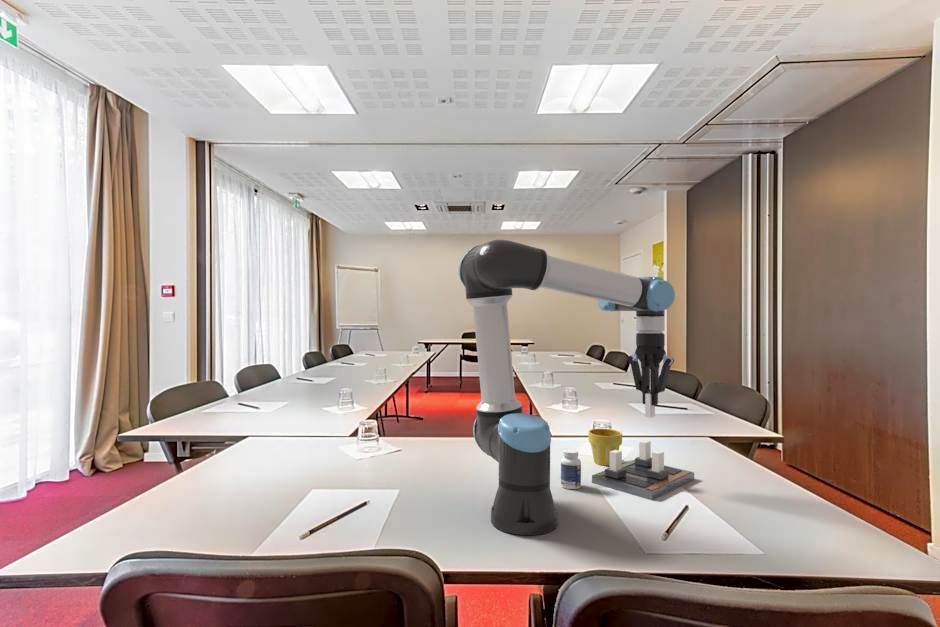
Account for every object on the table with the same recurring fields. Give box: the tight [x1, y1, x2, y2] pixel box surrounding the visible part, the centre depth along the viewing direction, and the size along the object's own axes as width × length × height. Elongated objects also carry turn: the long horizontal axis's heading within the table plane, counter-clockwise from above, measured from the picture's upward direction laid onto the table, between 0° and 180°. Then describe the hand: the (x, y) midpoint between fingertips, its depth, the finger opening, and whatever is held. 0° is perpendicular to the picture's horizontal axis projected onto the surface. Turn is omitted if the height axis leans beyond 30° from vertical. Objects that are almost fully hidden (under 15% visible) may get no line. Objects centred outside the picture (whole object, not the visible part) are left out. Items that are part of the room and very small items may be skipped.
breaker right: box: [634, 440, 652, 467], centre depth 152 cm, size 4×4×7 cm
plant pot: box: [588, 427, 623, 467], centre depth 161 cm, size 10×10×10 cm
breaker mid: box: [647, 450, 669, 480], centre depth 141 cm, size 4×4×7 cm
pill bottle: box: [560, 448, 582, 490], centre depth 139 cm, size 5×5×10 cm
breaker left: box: [604, 449, 626, 479], centre depth 141 cm, size 4×4×7 cm
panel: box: [591, 459, 695, 501], centre depth 144 cm, size 24×18×2 cm
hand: (650, 416), depth 142 cm, fingers closed
